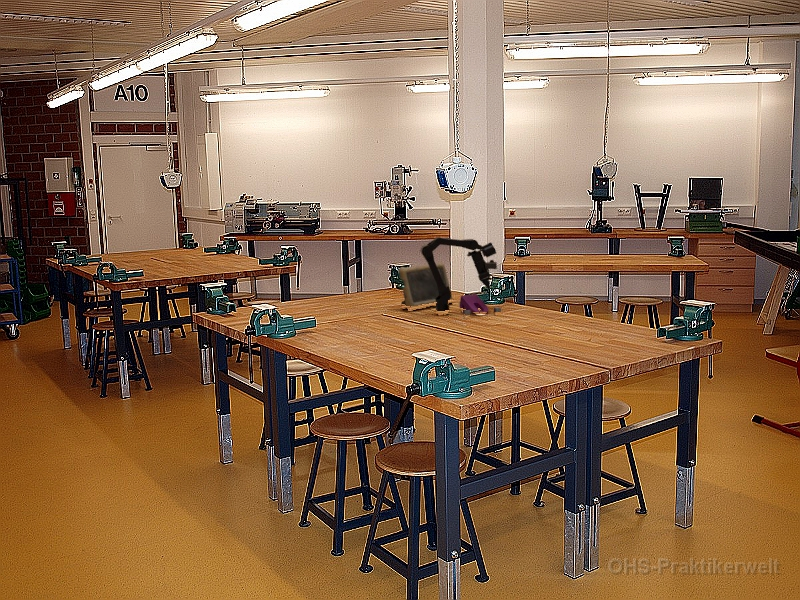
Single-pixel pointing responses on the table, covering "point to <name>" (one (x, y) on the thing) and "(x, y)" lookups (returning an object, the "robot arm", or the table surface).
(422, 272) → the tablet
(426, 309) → the table surface
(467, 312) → the stop blocks
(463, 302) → the mounting bracket
